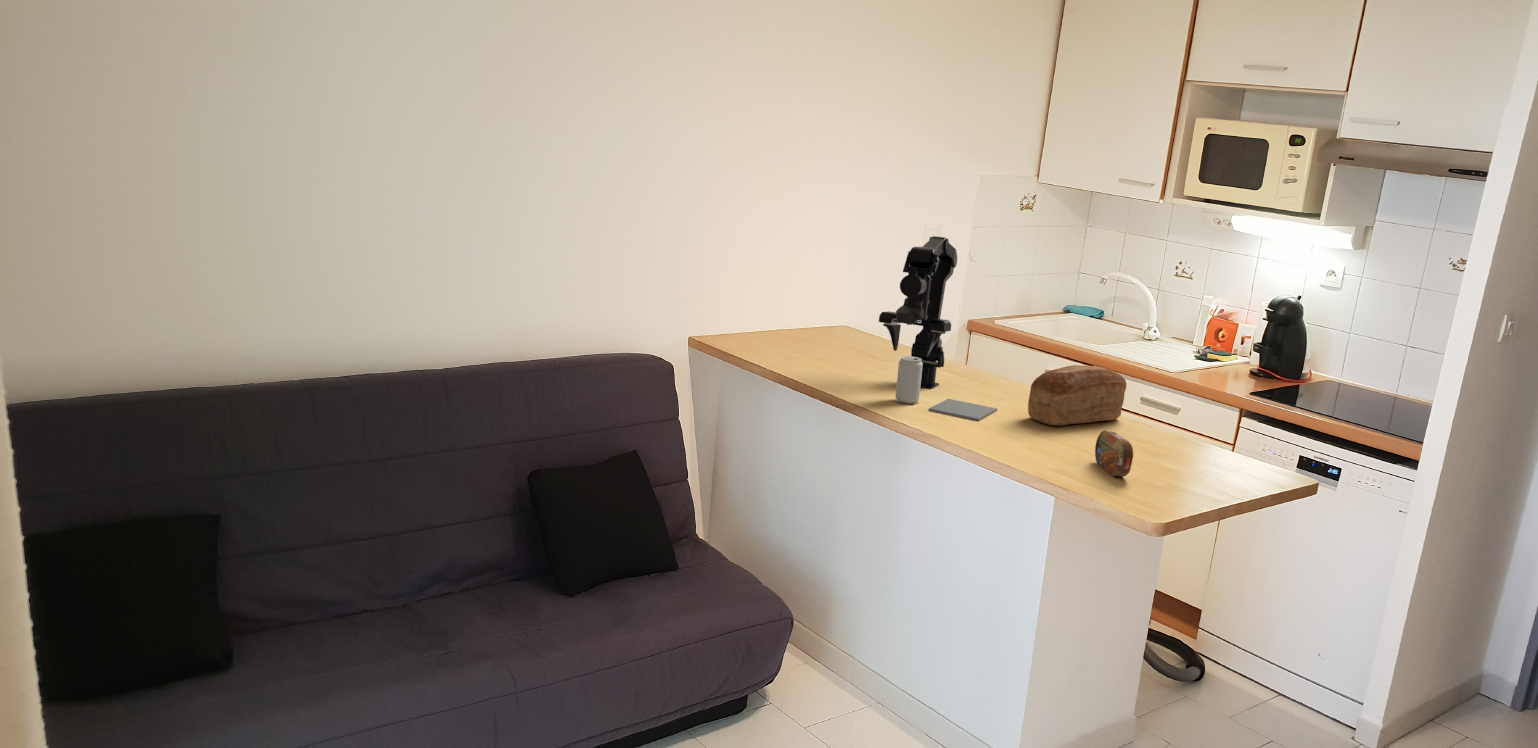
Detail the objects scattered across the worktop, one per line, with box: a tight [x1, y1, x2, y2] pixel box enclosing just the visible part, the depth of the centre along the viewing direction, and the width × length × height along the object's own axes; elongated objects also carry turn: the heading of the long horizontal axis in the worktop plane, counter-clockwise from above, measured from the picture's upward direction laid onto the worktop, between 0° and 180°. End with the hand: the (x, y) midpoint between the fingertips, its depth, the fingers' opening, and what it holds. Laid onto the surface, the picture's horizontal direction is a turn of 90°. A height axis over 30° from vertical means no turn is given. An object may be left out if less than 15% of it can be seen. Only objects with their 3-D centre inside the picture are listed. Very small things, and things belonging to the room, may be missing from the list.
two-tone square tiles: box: [894, 399, 920, 406], centre depth 289 cm, size 3×6×1 cm, turn 59°
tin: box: [1094, 429, 1134, 478], centre depth 240 cm, size 15×3×8 cm, turn 5°
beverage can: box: [895, 355, 923, 405], centre depth 287 cm, size 6×6×12 cm
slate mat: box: [928, 398, 998, 422], centre depth 284 cm, size 14×14×1 cm
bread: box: [1027, 364, 1127, 427], centre depth 282 cm, size 12×28×14 cm, turn 120°
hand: (910, 353), depth 286 cm, fingers open, 9 cm apart
